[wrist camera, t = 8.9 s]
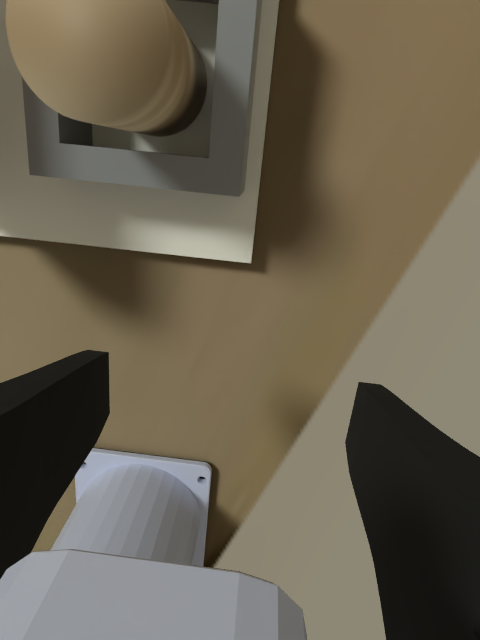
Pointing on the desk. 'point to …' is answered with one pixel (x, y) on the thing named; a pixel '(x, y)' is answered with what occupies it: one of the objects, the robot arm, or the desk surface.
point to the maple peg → (109, 62)
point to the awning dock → (148, 152)
